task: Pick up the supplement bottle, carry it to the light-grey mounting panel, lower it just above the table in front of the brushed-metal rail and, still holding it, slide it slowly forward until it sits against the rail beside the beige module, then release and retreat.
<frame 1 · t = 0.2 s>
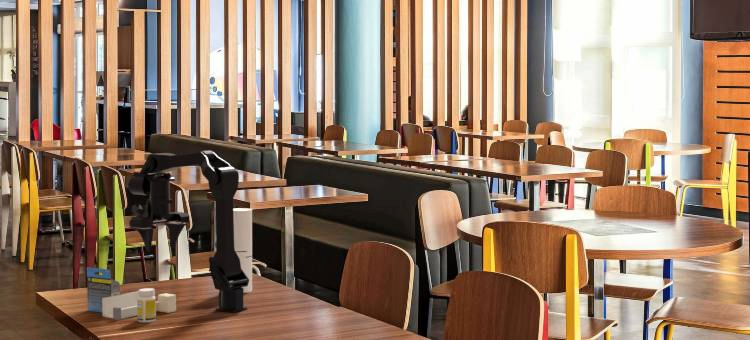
hand: (160, 249, 309), 14 cm above the table, fingers open, 9 cm apart
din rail: (139, 313, 290), on the table
label tape cartridge: (103, 312, 291), on the table
supplement bottle: (146, 321, 280), on the table
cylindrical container: (240, 291, 322), on the table
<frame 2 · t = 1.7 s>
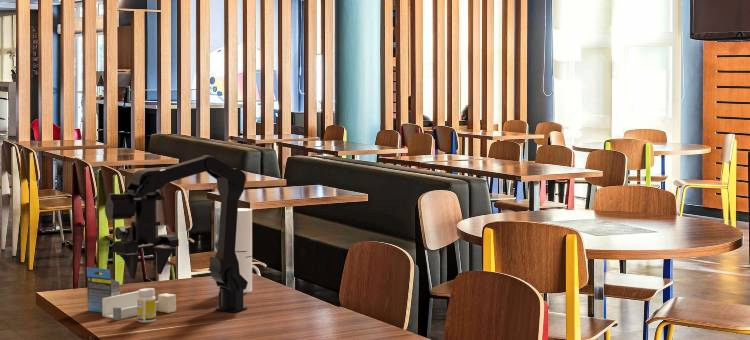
hand: (146, 276, 279), 12 cm above the table, fingers open, 9 cm apart
nothing on the table moved.
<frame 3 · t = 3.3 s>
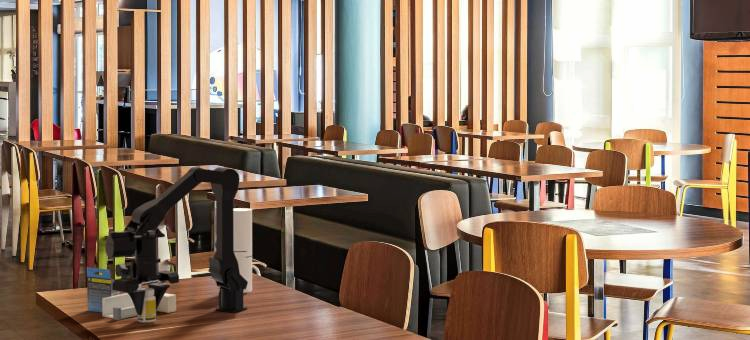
hand: (146, 313, 280), 2 cm above the table, fingers closed on supplement bottle, 5 cm apart
supplement bottle: (146, 321, 280), on the table, touching gripper
everything else where it was.
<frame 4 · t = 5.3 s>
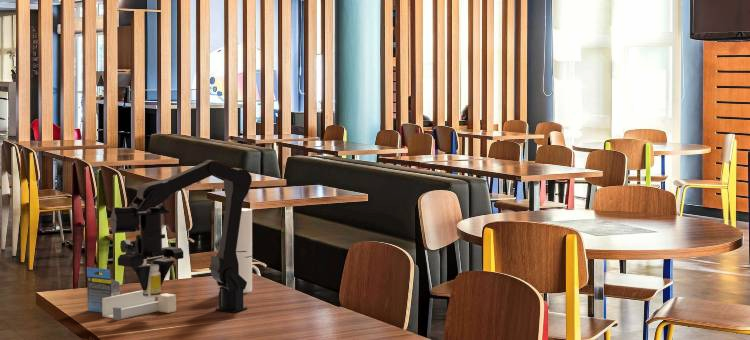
hand: (151, 288, 283), 8 cm above the table, fingers closed on supplement bottle, 5 cm apart
supplement bottle: (151, 297, 283), point 6 cm above the table, touching gripper
everything else where it was.
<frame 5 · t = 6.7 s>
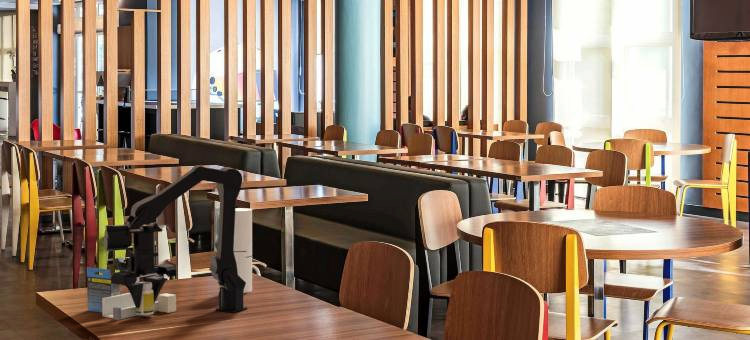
hand: (144, 306, 285), 3 cm above the table, fingers closed on supplement bottle, 5 cm apart
supplement bottle: (144, 314, 285), point 1 cm above the table, touching gripper
everything else where it was.
when the fingers open (3 cm above the table, at t = 7.7 s): supplement bottle stays where it is, on the table.
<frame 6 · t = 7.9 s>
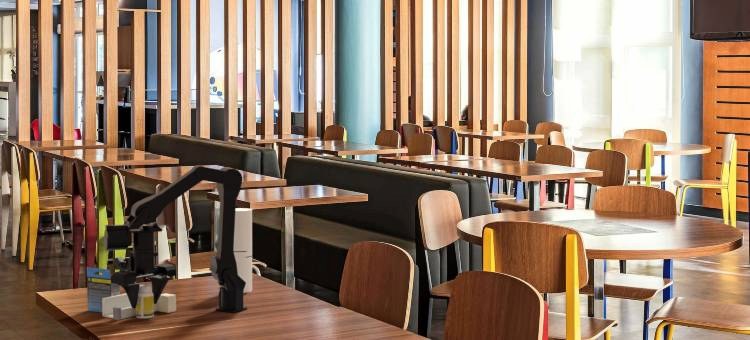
hand: (144, 305, 285), 3 cm above the table, fingers open, 7 cm apart
supplement bottle: (144, 317, 285), on the table
everything else where it was.
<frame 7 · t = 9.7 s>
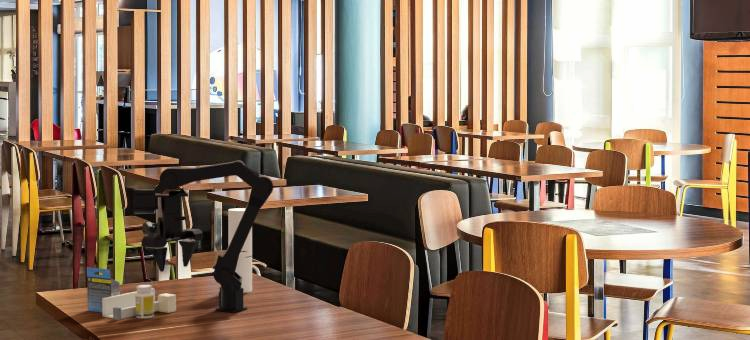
hand: (173, 269, 292), 12 cm above the table, fingers open, 9 cm apart
nothing on the table moved.
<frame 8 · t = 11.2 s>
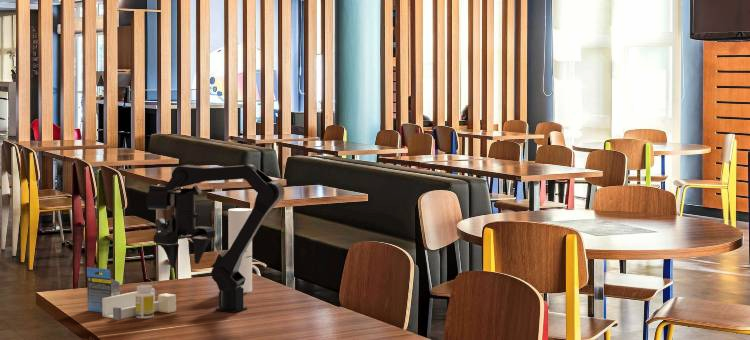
hand: (185, 265, 296), 12 cm above the table, fingers open, 9 cm apart
nothing on the table moved.
at the end: supplement bottle 0.7 cm from the target spot, on the table; supplement bottle tilted 0°; the gripper is holding nothing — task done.
